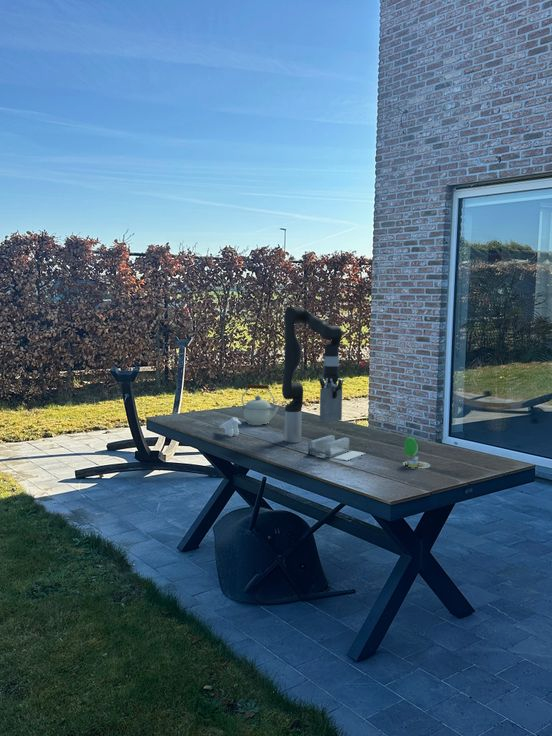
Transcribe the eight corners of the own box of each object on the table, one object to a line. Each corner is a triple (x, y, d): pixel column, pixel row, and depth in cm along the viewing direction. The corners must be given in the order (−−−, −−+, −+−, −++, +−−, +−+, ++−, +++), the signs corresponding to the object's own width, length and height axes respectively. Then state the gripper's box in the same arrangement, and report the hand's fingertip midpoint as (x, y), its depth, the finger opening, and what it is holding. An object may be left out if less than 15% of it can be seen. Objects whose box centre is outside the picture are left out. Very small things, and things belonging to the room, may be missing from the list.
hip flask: (323, 423, 318) (323, 384, 315) (317, 422, 320) (317, 383, 318) (342, 419, 329) (343, 381, 327) (336, 418, 332) (337, 381, 329)
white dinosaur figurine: (237, 438, 355) (235, 418, 355) (214, 435, 374) (212, 416, 374) (246, 436, 360) (245, 417, 359) (223, 433, 378) (222, 415, 378)
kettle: (236, 424, 397) (236, 385, 394) (246, 419, 414) (246, 382, 412) (274, 427, 390) (274, 387, 387) (282, 421, 407) (283, 383, 404)
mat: (333, 458, 314) (333, 457, 314) (352, 451, 328) (352, 450, 328) (347, 461, 309) (347, 460, 309) (365, 454, 324) (365, 453, 324)
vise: (307, 454, 322) (307, 441, 322) (328, 447, 338) (328, 434, 337) (329, 458, 314) (329, 445, 313) (349, 451, 329) (350, 438, 329)
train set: (420, 442, 292) (395, 438, 302) (420, 471, 294) (394, 465, 303) (437, 437, 303) (412, 433, 312) (436, 465, 304) (411, 459, 314)
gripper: (315, 364, 323) (315, 397, 325) (339, 366, 314) (338, 400, 316) (323, 363, 328) (323, 395, 330) (347, 365, 320) (346, 398, 322)
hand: (330, 397), depth 323 cm, fingers closed on hip flask, 4 cm apart
